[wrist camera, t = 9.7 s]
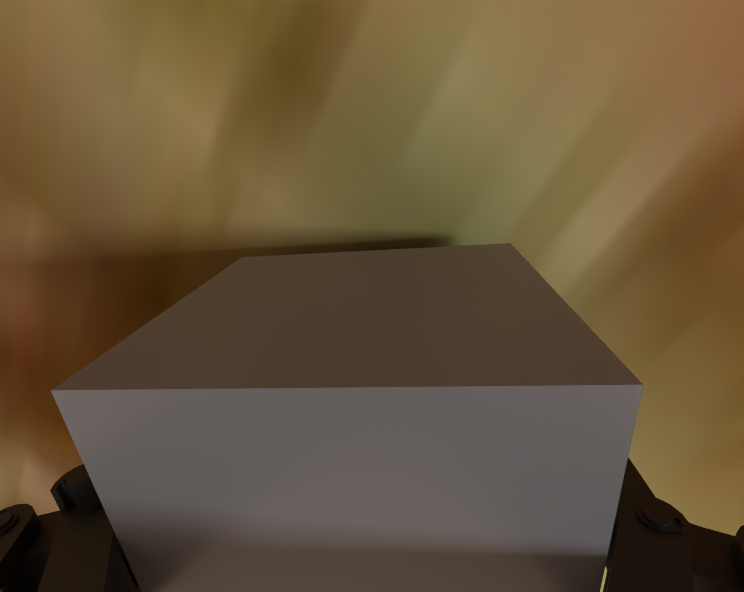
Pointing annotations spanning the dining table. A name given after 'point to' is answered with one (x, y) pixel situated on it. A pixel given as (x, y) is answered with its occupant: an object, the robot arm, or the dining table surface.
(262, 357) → the grey block
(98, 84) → the dining table surface
